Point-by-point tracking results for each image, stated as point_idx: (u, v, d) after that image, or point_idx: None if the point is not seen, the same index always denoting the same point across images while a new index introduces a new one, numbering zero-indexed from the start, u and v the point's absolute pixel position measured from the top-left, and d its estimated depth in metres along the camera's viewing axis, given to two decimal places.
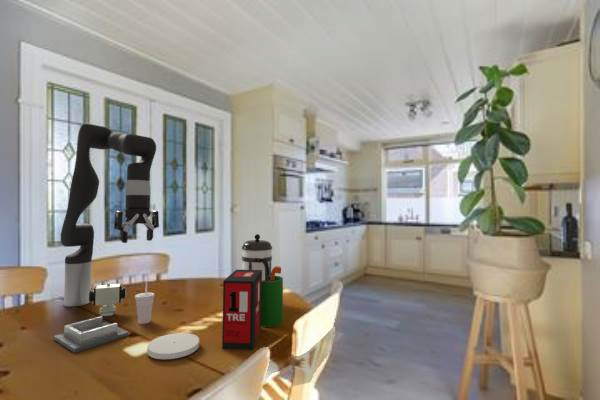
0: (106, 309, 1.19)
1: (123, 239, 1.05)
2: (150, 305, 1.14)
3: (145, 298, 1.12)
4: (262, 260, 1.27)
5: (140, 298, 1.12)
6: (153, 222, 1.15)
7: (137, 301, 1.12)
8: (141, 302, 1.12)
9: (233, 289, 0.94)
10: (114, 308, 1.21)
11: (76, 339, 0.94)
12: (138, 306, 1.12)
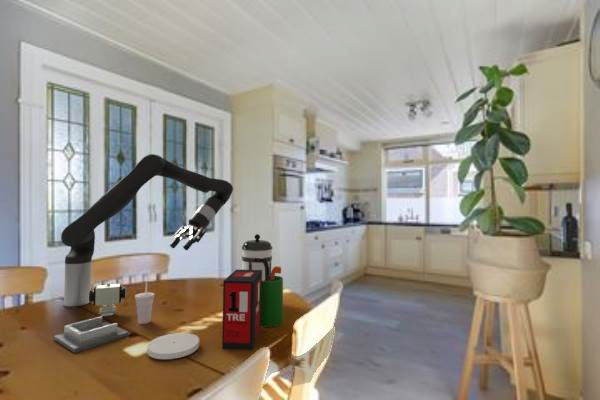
0: (106, 309, 1.19)
1: None
2: (150, 305, 1.14)
3: (145, 298, 1.12)
4: (262, 260, 1.27)
5: (140, 298, 1.12)
6: None
7: (137, 301, 1.12)
8: (141, 302, 1.12)
9: (234, 289, 0.94)
10: (114, 308, 1.21)
11: (76, 339, 0.94)
12: (138, 306, 1.12)
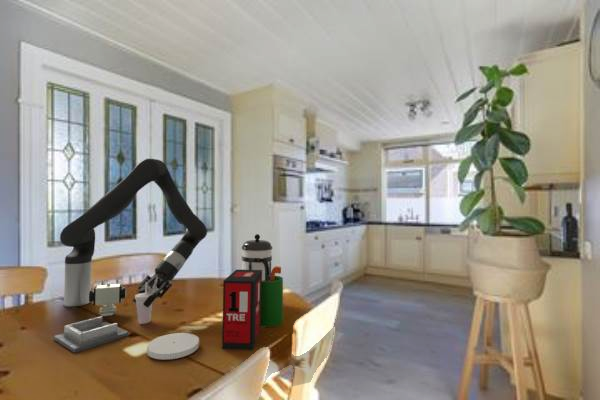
0: (106, 309, 1.19)
1: None
2: (150, 305, 1.14)
3: (145, 298, 1.12)
4: (262, 260, 1.27)
5: (140, 298, 1.12)
6: None
7: (137, 301, 1.12)
8: (141, 302, 1.12)
9: (234, 289, 0.94)
10: (114, 308, 1.21)
11: (76, 339, 0.94)
12: (138, 306, 1.12)
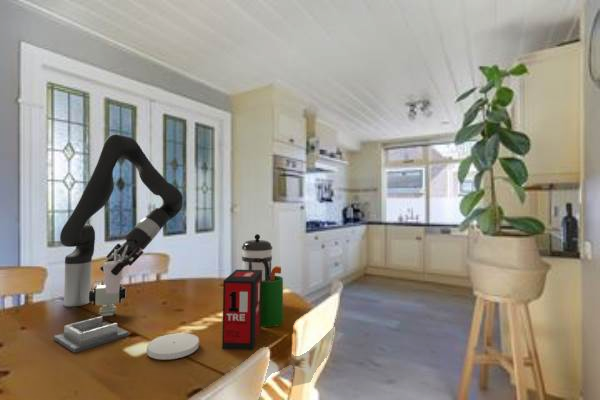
0: (106, 309, 1.19)
1: None
2: (119, 273, 1.05)
3: (113, 265, 1.03)
4: (262, 260, 1.27)
5: (107, 265, 1.03)
6: None
7: (104, 269, 1.03)
8: (109, 270, 1.03)
9: (234, 289, 0.94)
10: (114, 308, 1.21)
11: (76, 339, 0.94)
12: (105, 274, 1.03)
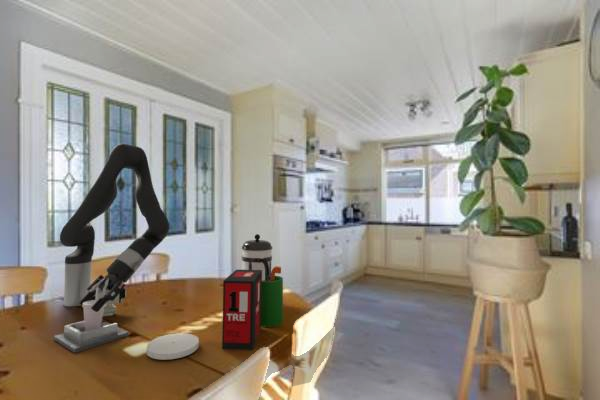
0: (106, 309, 1.19)
1: None
2: (99, 314, 1.00)
3: None
4: (262, 260, 1.27)
5: (87, 306, 0.98)
6: None
7: (84, 309, 0.99)
8: (89, 311, 0.98)
9: (233, 289, 0.94)
10: (114, 308, 1.21)
11: (76, 339, 0.94)
12: (85, 315, 0.99)
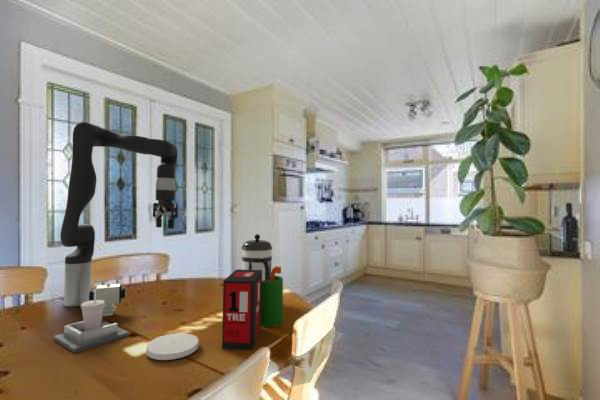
0: (106, 309, 1.19)
1: None
2: (98, 315, 1.00)
3: (92, 307, 0.98)
4: (262, 260, 1.27)
5: (86, 307, 0.98)
6: None
7: (83, 310, 0.98)
8: (87, 311, 0.98)
9: (234, 289, 0.94)
10: (114, 308, 1.21)
11: (76, 339, 0.94)
12: (84, 316, 0.98)
